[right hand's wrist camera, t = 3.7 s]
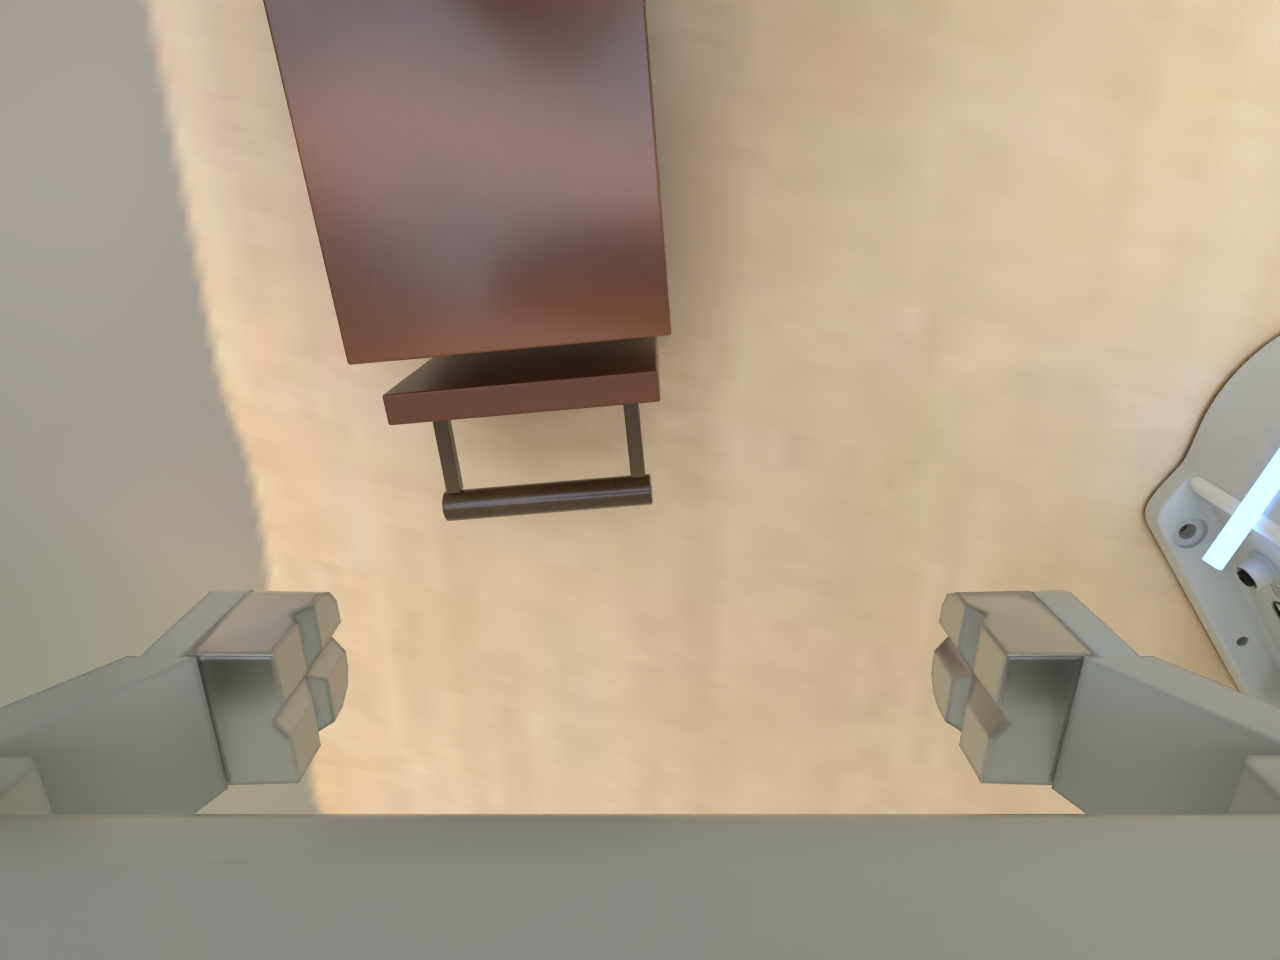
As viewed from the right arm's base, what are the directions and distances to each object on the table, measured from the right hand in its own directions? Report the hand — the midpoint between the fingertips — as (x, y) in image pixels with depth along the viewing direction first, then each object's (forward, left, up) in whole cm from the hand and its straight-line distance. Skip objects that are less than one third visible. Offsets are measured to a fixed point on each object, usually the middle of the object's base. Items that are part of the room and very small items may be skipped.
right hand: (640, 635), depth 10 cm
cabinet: (+12, +1, -28) cm, 30 cm away
